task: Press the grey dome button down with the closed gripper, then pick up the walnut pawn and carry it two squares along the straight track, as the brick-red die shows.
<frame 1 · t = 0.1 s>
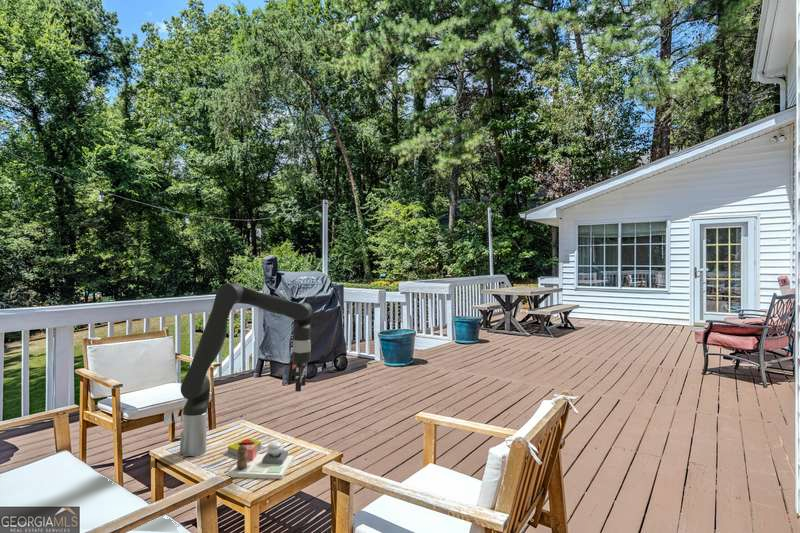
hand: (300, 388, 186), 29 cm above the table, tool pointing down, fingers open, 8 cm apart
dome: (275, 449, 179), point 6 cm above the table, slide at 0.0 cm
emergency button: (244, 452, 190), on the table
die: (249, 458, 180), resting on board
board: (262, 467, 175), on the table
pawn: (241, 467, 171), point 2 cm above the table, touching board
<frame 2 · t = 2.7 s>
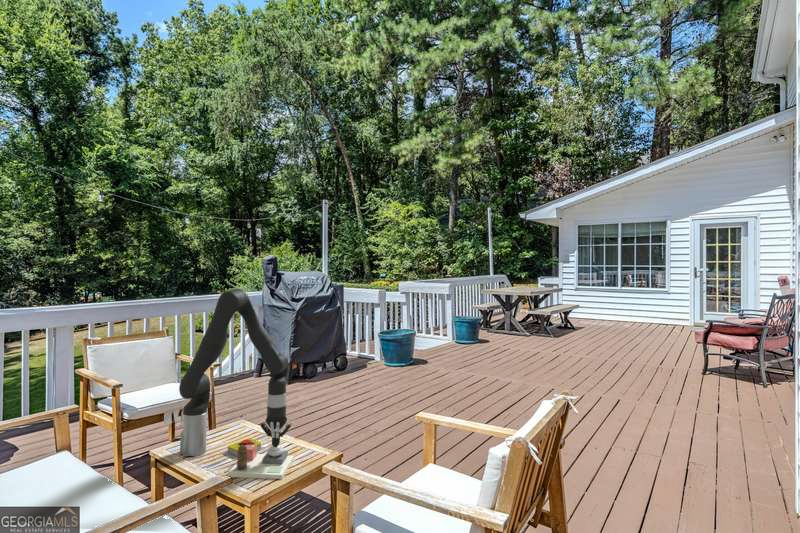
hand: (275, 446, 179), 7 cm above the table, tool pointing down, fingers closed
dome: (275, 451, 179), point 5 cm above the table, slide at 0.8 cm, touching gripper
everything else where it was.
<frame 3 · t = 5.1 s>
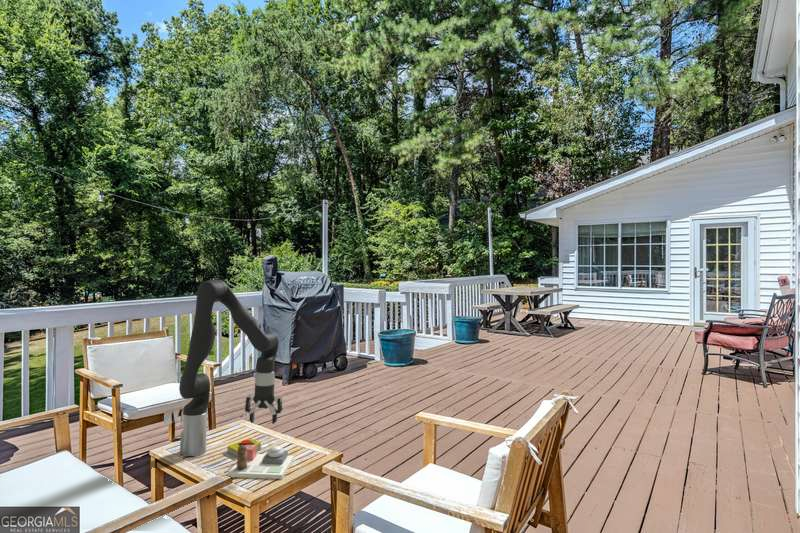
hand: (263, 422, 176), 18 cm above the table, tool pointing down, fingers open, 8 cm apart
dome: (275, 453, 179), point 4 cm above the table, slide at 1.4 cm
everything else where it was.
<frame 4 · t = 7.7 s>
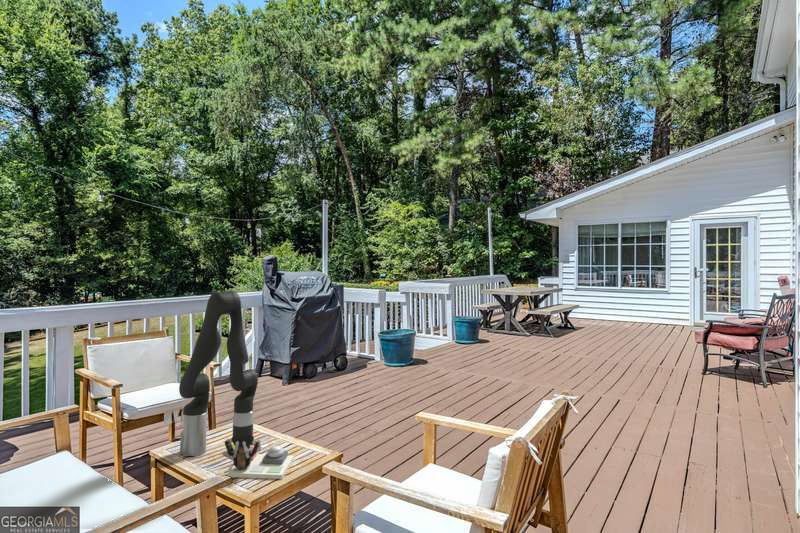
hand: (242, 466, 171), 2 cm above the table, tool pointing down, fingers closed on pawn, 3 cm apart
pawn: (241, 467, 171), point 2 cm above the table, touching board, gripper
everything else where it was.
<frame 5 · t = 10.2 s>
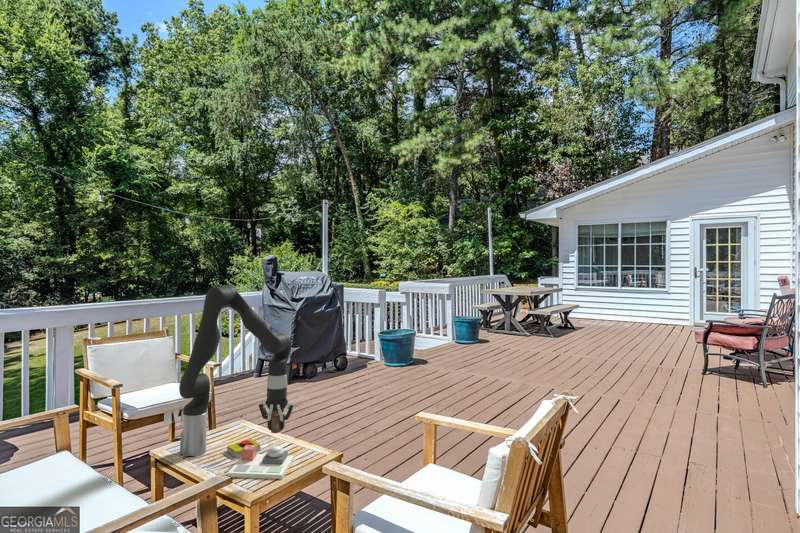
hand: (276, 429, 170), 17 cm above the table, tool pointing down, fingers closed on pawn, 3 cm apart
pawn: (275, 431, 170), point 16 cm above the table, touching gripper
everything else where it was.
when the fingers open (3 cm above the table, at t = 13.0 s): pawn stays where it is, resting on board.
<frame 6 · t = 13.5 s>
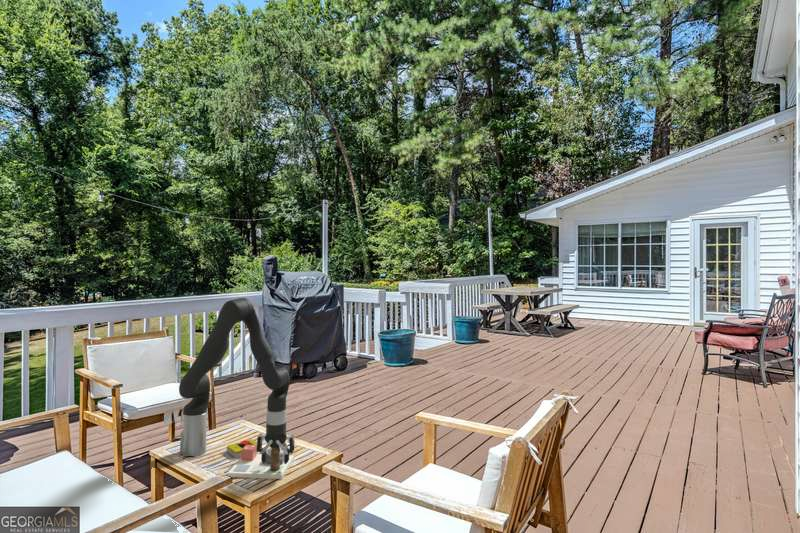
hand: (275, 462, 171), 4 cm above the table, tool pointing down, fingers open, 8 cm apart
pawn: (274, 469, 171), point 2 cm above the table, touching board
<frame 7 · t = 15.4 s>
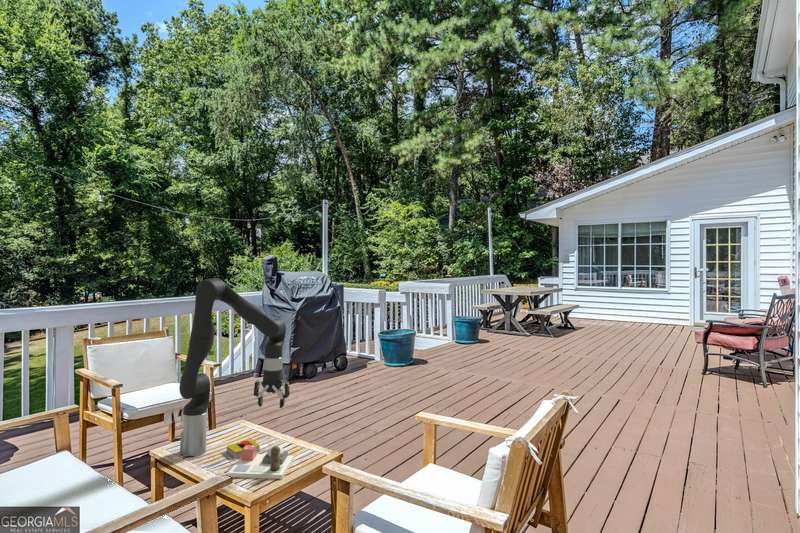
hand: (271, 406, 181), 23 cm above the table, tool pointing down, fingers open, 8 cm apart
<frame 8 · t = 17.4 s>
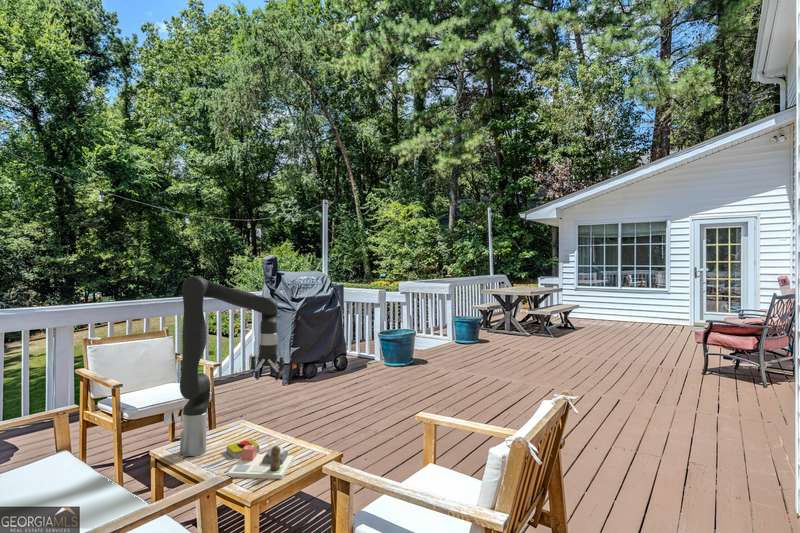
hand: (267, 379, 194), 30 cm above the table, tool pointing down, fingers open, 8 cm apart
at the end: dome slide at 1.4 cm; pawn 0.1 cm from the target spot on the board, point 1.8 cm above the board's base; pawn tilted 2° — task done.
